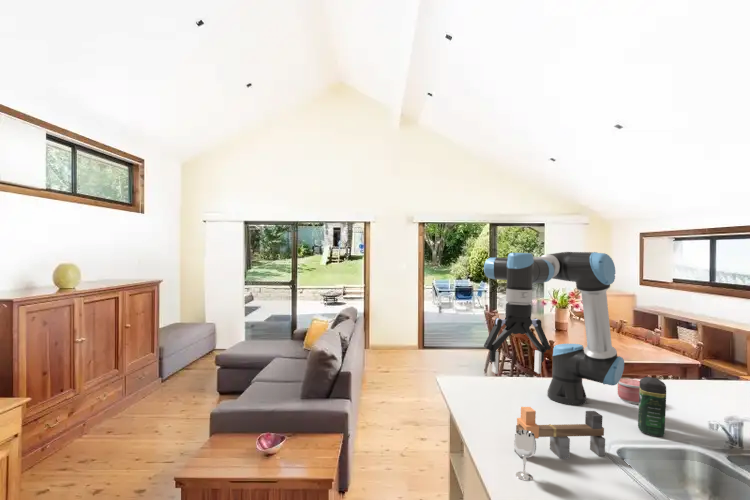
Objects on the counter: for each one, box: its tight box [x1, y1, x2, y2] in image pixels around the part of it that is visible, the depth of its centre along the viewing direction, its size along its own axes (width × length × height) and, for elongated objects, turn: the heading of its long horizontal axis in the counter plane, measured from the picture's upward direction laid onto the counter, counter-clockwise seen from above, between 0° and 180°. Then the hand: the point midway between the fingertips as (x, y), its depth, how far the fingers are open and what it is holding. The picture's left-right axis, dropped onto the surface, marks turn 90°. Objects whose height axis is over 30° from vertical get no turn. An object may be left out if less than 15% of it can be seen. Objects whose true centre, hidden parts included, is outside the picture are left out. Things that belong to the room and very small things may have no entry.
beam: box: [514, 410, 606, 459], centre depth 131 cm, size 6×27×12 cm, turn 96°
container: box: [617, 377, 640, 405], centre depth 179 cm, size 10×10×8 cm
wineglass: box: [513, 430, 537, 482], centre depth 117 cm, size 6×6×12 cm
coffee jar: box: [637, 376, 667, 437], centre depth 149 cm, size 10×8×19 cm
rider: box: [516, 406, 540, 440], centre depth 129 cm, size 6×4×8 cm, turn 6°
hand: (516, 372), depth 129 cm, fingers open, 13 cm apart
